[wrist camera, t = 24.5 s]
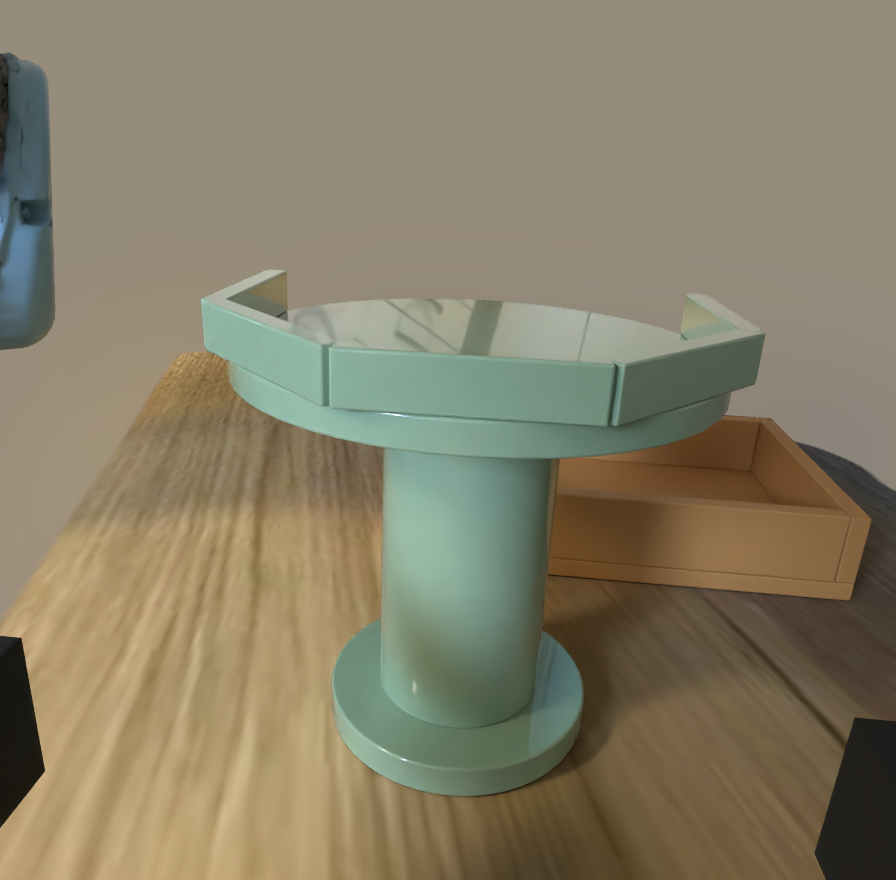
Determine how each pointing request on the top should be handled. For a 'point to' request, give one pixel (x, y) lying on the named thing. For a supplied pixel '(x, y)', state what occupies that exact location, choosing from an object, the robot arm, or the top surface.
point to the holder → (710, 516)
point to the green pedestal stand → (471, 493)
